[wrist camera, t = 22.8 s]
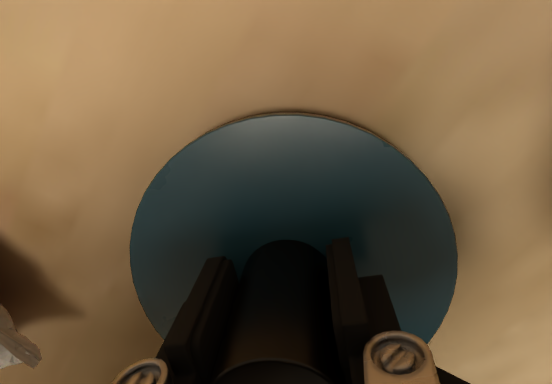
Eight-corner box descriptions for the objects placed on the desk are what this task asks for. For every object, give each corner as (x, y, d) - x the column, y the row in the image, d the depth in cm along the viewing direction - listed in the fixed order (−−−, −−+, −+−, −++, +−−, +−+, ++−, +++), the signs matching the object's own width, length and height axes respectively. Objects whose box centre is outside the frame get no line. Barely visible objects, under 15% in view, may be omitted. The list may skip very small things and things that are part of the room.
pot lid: (191, 388, 16) (125, 575, 10) (98, 145, 12) (-81, 222, 7) (454, 362, 14) (552, 567, 9) (434, 75, 11) (577, 97, 5)
